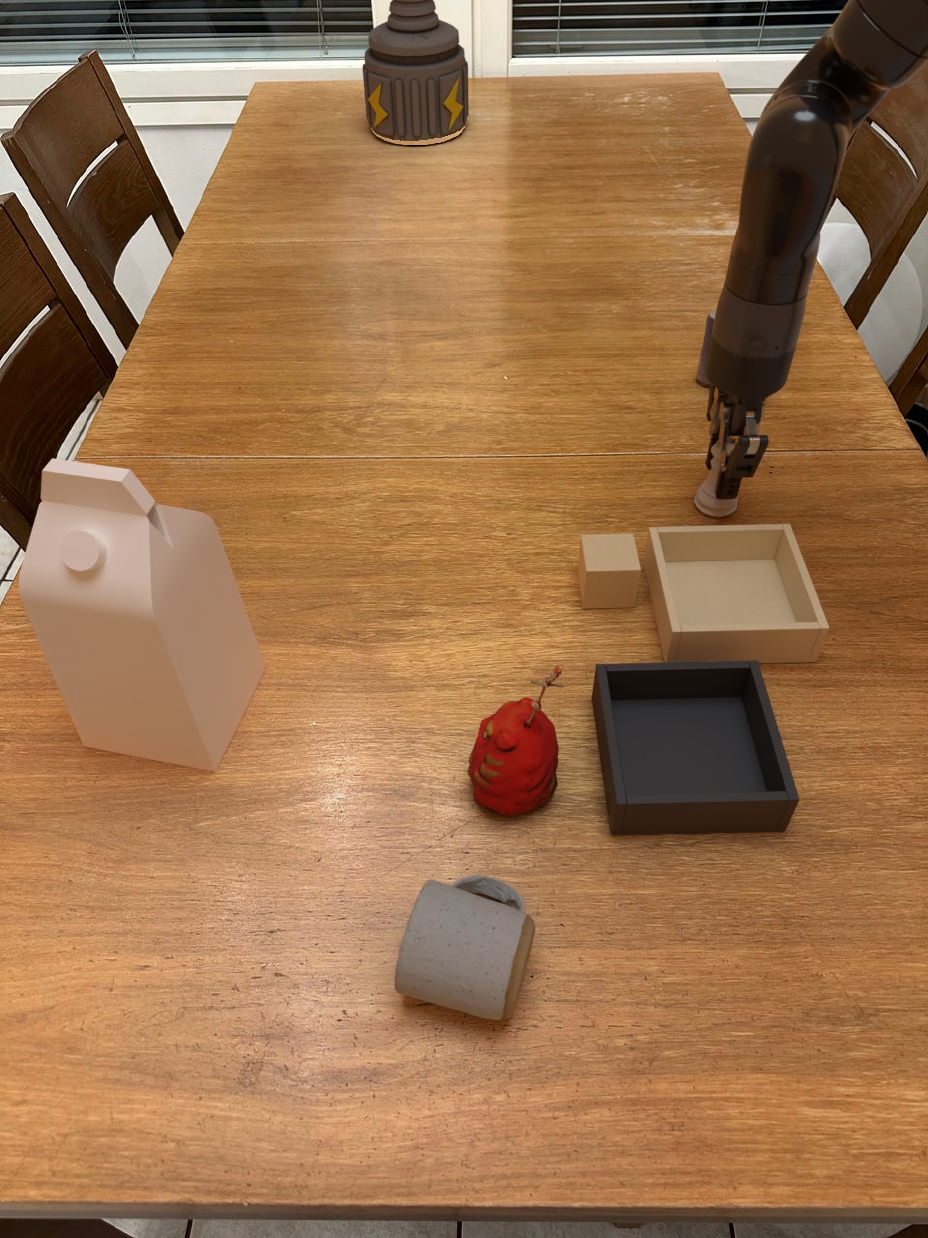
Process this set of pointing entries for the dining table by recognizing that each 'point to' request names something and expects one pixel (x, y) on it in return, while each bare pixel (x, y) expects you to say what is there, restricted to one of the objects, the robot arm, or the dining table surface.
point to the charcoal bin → (690, 749)
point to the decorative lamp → (415, 75)
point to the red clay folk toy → (516, 756)
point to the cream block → (608, 571)
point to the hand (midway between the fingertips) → (720, 481)
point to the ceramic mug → (466, 947)
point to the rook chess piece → (706, 491)
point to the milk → (138, 617)
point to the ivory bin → (733, 594)
